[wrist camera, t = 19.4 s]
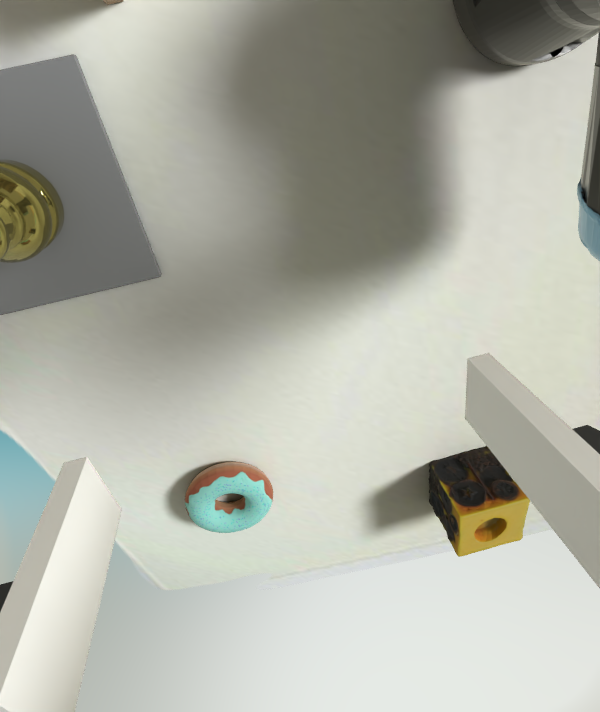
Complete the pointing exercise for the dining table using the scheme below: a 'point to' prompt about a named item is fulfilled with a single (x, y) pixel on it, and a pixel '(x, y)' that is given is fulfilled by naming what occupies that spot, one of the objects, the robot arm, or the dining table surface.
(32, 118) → the charcoal mat
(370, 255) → the dining table surface
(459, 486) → the yellow brown cube
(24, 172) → the gold rounded piece
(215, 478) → the donut
